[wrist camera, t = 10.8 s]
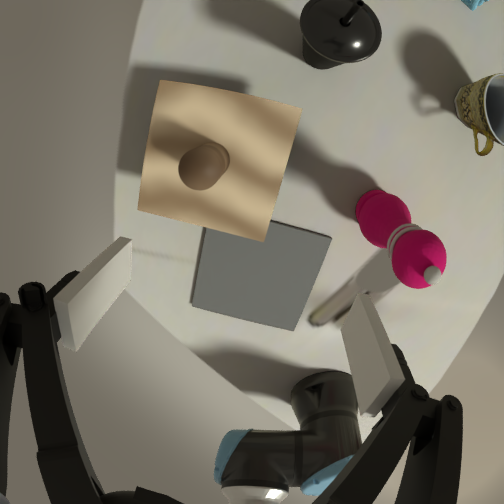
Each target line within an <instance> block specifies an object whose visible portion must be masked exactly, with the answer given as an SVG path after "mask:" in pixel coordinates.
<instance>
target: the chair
mask: <svg viewBox="0 0 504 504" xmlns="http://www.w3.org/2000/svg"><path fill="white" fill-rule="evenodd" d="M461 1H463V2H464V3H465V4H466V5H467V6H468V7H469V8H470V9H471V10H472V11H473V10H475V9H476V7H477V5H478V6H480V5H482V4H483V2H484V1H485V2H486V1H488V0H471V1H470V0H461Z"/></svg>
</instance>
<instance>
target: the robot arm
mask: <svg viewBox="0 0 504 504" xmlns="http://www.w3.org/2000/svg"><path fill="white" fill-rule="evenodd" d="M131 254H132V239H129V238H125V237H119V238H118V239H117V240H116V241H115V242H114V243H112V244H111V245H110V246H109V247H108V248H107V249H105V250H104V251H103V252H102V253H101V254H100V255H99V256H98V257H97V258H96V259H94V260H93V261H92V262H91V263H90V264H89V265H88V266H87V267H86V268H85V269H84V270H82V271H81V272H79V271H76V270H75V271H73V272H70V273H68V274H66V275H65V276H64V277H63V278H62V279H61V281H59V282H58V283H57V284H56V285H54V286H53V287H52V288H51V289H50V290H49V291H48V292H47V293H46V290H45V287H44V285H43V284H41V283H38V282H30V283H26V284H24V285H22V286H21V287H20V288H19V291H18V294H19V299H20V303H21V305H20V304H13V303H11V301H10V298H9V296H8V295H7V294H6V293H0V504H10V502H9V501H8V499H7V498H6V489H7V453H8V434H9V421H10V412H11V403H12V395H13V388H14V383H15V377H16V371H17V366H18V361H19V356H20V352H21V348H23V357H24V370H25V378H26V387H27V393H28V400H29V407H30V412H31V418H32V422H33V428H34V432H35V437H36V441H37V445H38V452H37V461H38V465H39V468H40V472H41V475H42V478H43V481H44V484H45V487H46V491H47V493H48V496H49V499H50V502H51V504H183V503H181V502H179V501H177V500H175V499H173V498H171V497H169V496H167V495H164V494H160V493H157V492H154V491H150V490H147V489H144V488H141V487H138V486H137V487H136V491H116V492H111V493H107V494H105V493H104V490H103V488H102V486H101V484H100V482H99V480H98V478H97V476H96V474H95V472H94V470H93V467H92V465H91V462H90V460H89V457H88V454H87V452H86V449H85V447H84V444H83V441H82V438H81V435H80V432H79V429H78V426H77V423H76V420H75V417H74V413H73V410H72V406H71V403H70V399H69V396H68V392H67V387H66V383H65V379H64V375H63V371H62V366H61V361H60V356H59V352H58V346H57V342H58V341H59V339H60V338H61V339H62V344H63V347H66V348H68V349H70V350H73V351H75V352H77V351H78V349H79V348H80V346H81V345H82V344H83V342H84V341H85V339H86V338H87V337H88V335H89V334H90V333H91V331H92V330H93V329H94V327H95V326H96V324H97V323H98V322H99V321H100V319H101V318H102V317H103V315H104V314H105V313H106V311H107V310H108V309H109V307H110V306H111V304H112V303H113V302H114V301H115V300H116V298H117V297H118V296H119V295H120V293H121V292H122V291H123V289H124V288H125V287H126V286H127V284H128V283H129V282H130V281H131ZM341 333H342V337H343V341H344V345H345V349H346V353H347V357H348V361H349V365H350V370H351V374H352V376H351V375H349V374H346V373H343V372H323V373H318V374H314V375H312V376H309V377H307V378H305V379H303V380H302V381H300V382H299V383H298V384H297V385H296V386H295V387H294V388H293V390H292V393H291V405H292V408H293V410H294V413H295V415H296V417H297V419H298V422H299V424H300V430H299V431H277V430H253V429H248V430H231V431H229V432H228V433H227V434H226V435H225V436H224V438H223V439H222V442H221V444H220V446H219V449H218V453H217V457H216V461H215V470H214V480H215V482H216V483H218V484H220V485H222V488H221V492H222V493H223V494H224V495H225V497H226V498H227V499H228V500H229V504H280V502H281V501H282V500H283V499H285V498H286V497H287V496H288V494H289V487H300V488H301V491H302V493H303V494H306V495H313V496H315V495H319V497H318V498H317V499H316V500H315V501H314V502H313V503H312V504H372V503H373V502H374V500H375V499H376V497H377V496H378V494H379V493H380V492H381V490H382V488H383V487H384V485H385V484H386V482H387V481H388V479H389V477H390V476H391V474H392V472H393V471H394V469H395V467H396V466H397V464H398V462H399V460H400V459H401V457H402V455H403V453H404V451H405V450H406V448H407V446H408V444H409V442H410V440H411V442H410V447H409V451H408V456H407V460H406V465H405V469H404V473H403V476H402V480H401V484H400V487H399V491H398V494H397V498H396V501H395V504H456V503H457V496H458V489H459V480H460V470H461V458H462V437H463V436H462V435H463V409H462V404H461V403H460V401H459V400H458V399H457V398H456V397H454V396H452V395H445V396H444V397H443V398H442V399H441V400H440V401H438V400H435V399H432V398H429V394H428V392H427V391H426V389H424V388H423V387H422V386H420V385H418V384H415V381H414V379H413V376H412V374H411V371H410V369H409V367H408V366H407V362H406V360H405V357H404V355H403V353H402V351H401V350H400V349H399V347H398V346H397V345H396V344H391V343H390V340H389V338H388V336H387V333H386V331H385V329H384V326H383V324H382V322H381V320H380V317H379V315H378V313H377V311H376V308H375V306H374V304H373V302H372V300H371V298H370V295H366V294H361V293H358V294H357V296H356V298H355V300H354V303H353V305H352V307H351V309H350V311H349V313H348V315H347V318H346V320H345V322H344V324H343V326H342V328H341ZM358 408H359V410H360V415H361V417H375V416H376V415H377V414H378V413H379V412H380V411H382V415H383V417H382V418H381V419H380V420H379V421H378V422H377V423H376V424H375V426H374V427H373V428H372V431H371V433H370V434H369V436H368V437H367V438H366V440H365V441H364V443H363V444H362V441H361V435H360V430H359V424H358V419H357V414H358Z"/></svg>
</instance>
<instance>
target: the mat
mask: <svg viewBox="0 0 504 504" xmlns="http://www.w3.org/2000/svg"><path fill="white" fill-rule="evenodd" d="M331 240H332V238H331V237H328V236H325V235H321V234H318V233H314V232H310V231H307V230H303V229H300V228H296V227H292V226H289V225H285V224H281V223H278V222H274V221H270V223H269V226H268V230H267V233H266V237H265V240H264V242H260V241H257V240H253V239H249V238H245V237H241V236H237V235H234V234H230V233H226V232H222V231H218V230H214V229H210V228H206V233H205V238H204V243H203V248H202V253H201V259H200V264H199V269H198V274H197V280H196V285H195V291H194V297H193V302H192V306H193V307H196V308H200V309H204V310H207V311H211V312H215V313H219V314H223V315H227V316H231V317H235V318H239V319H243V320H247V321H251V322H255V323H259V324H264V325H268V326H272V327H277V328H281V329H286V330H290V331H294V330H295V327H296V325H297V323H298V321H299V318H300V316H301V314H302V311H303V309H304V307H305V304H306V302H307V300H308V297H309V295H310V293H311V290H312V288H313V285H314V283H315V280H316V278H317V276H318V273H319V271H320V268H321V266H322V263H323V261H324V258H325V256H326V253H327V250H328V248H329V245H330V243H331Z"/></svg>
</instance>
